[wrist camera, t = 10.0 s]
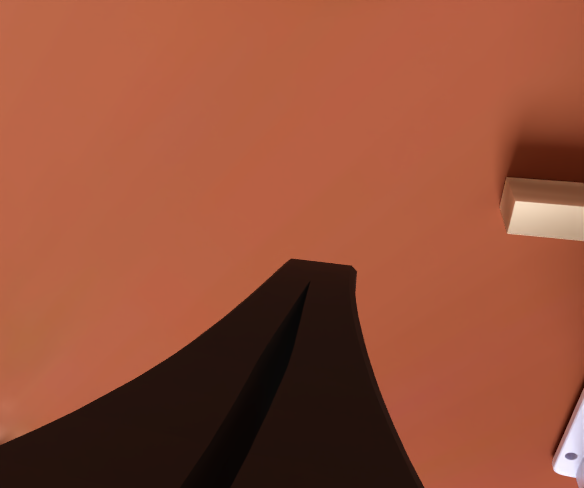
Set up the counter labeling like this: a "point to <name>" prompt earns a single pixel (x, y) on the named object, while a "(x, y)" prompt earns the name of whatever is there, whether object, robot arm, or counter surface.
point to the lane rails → (543, 208)
